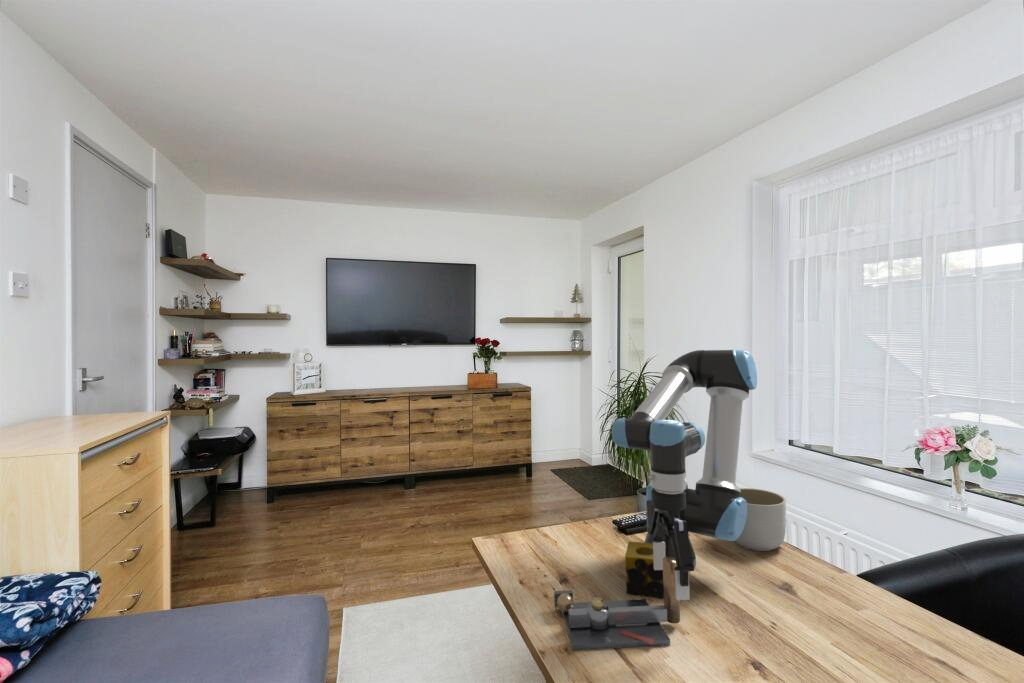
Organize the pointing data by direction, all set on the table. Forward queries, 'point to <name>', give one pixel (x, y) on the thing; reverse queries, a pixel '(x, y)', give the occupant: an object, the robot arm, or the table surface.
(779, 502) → the planter
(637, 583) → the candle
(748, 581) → the table surface
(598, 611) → the lever
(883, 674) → the table surface
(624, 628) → the base
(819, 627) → the table surface
